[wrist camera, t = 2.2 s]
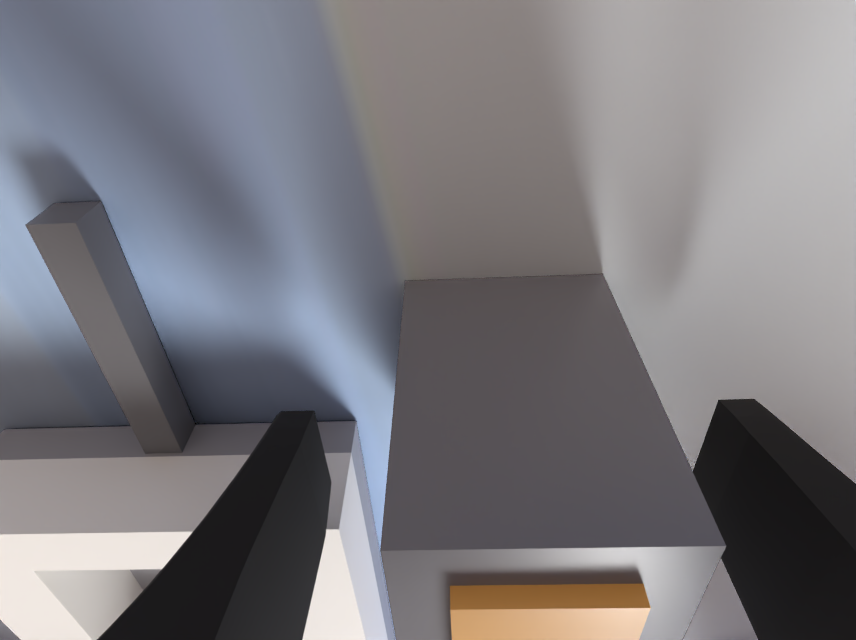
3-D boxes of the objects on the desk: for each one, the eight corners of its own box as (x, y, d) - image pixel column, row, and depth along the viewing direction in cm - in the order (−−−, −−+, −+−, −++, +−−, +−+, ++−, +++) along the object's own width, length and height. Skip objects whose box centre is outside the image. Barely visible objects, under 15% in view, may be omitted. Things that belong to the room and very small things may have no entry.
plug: (602, 273, 11) (737, 570, 6) (580, 413, 14) (664, 712, 9) (405, 280, 11) (377, 574, 6) (416, 417, 14) (404, 713, 9)
